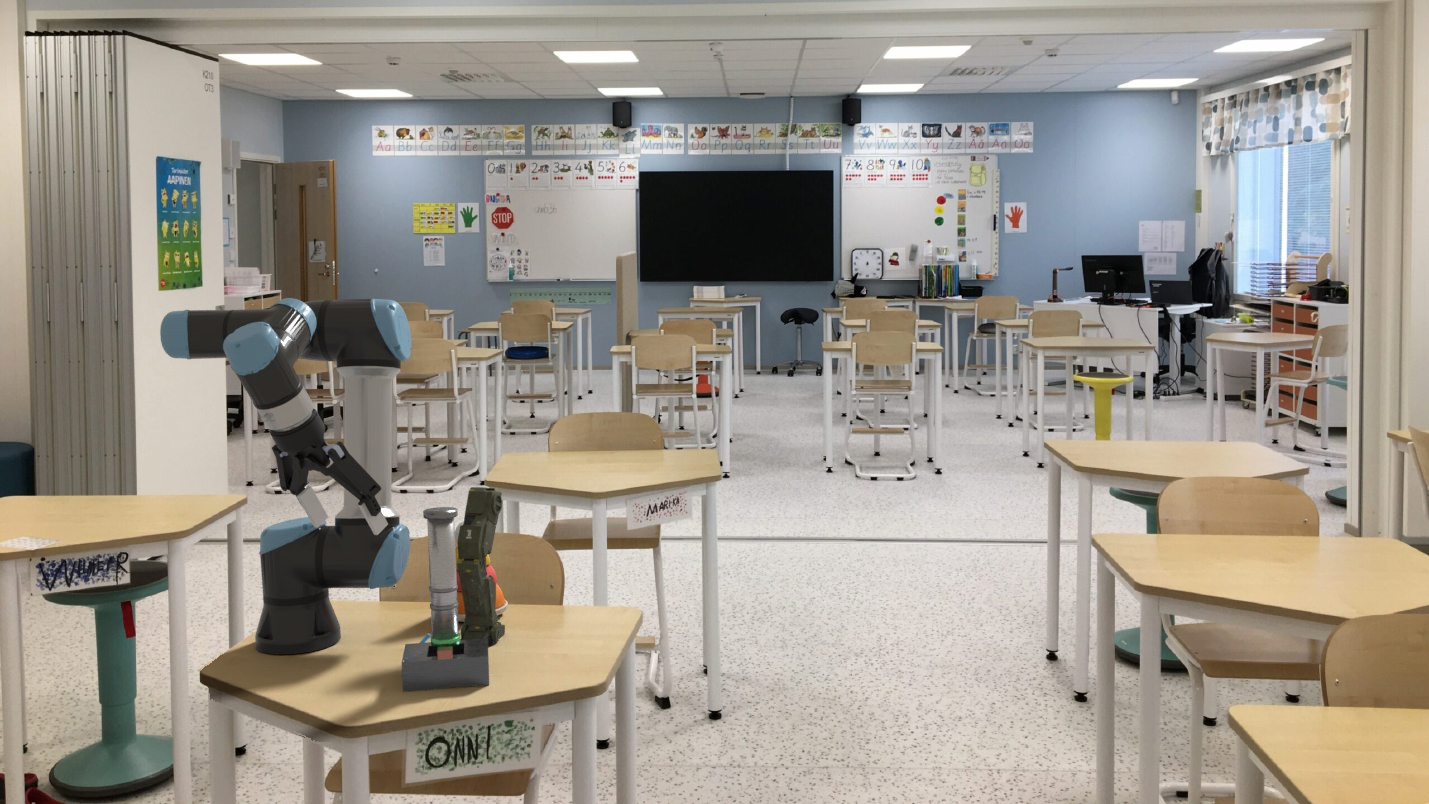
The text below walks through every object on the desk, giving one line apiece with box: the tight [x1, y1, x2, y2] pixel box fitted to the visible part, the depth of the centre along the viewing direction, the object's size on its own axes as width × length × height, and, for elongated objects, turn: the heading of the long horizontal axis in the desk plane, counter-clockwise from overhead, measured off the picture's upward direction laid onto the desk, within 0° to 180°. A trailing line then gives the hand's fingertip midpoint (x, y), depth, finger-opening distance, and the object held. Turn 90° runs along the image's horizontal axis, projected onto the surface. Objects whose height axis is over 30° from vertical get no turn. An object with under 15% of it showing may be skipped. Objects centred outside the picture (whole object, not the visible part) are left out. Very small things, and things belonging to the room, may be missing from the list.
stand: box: [401, 638, 490, 693], centre depth 197 cm, size 10×14×6 cm
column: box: [422, 506, 461, 647], centre depth 195 cm, size 6×6×23 cm
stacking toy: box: [455, 520, 509, 623], centre depth 233 cm, size 14×14×20 cm
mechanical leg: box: [456, 486, 506, 648], centre depth 217 cm, size 14×7×30 cm, turn 168°
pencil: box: [419, 631, 432, 643], centre depth 213 cm, size 1×17×1 cm, turn 177°
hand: (350, 525), depth 186 cm, fingers open, 13 cm apart
